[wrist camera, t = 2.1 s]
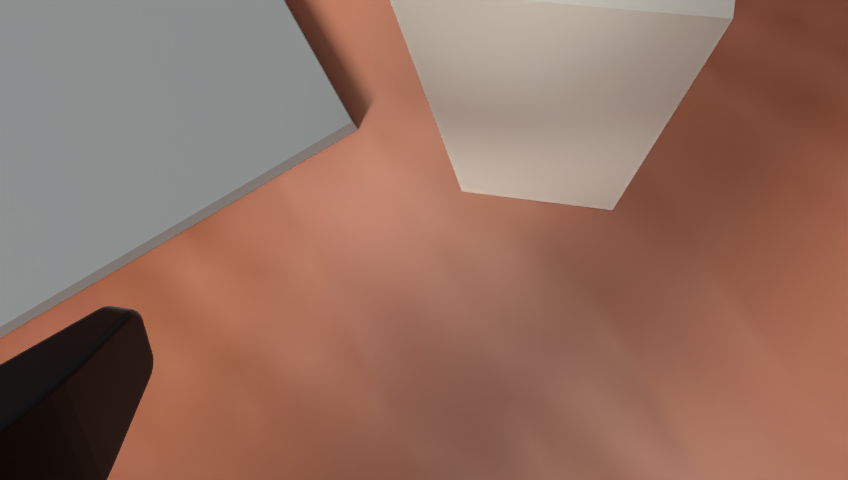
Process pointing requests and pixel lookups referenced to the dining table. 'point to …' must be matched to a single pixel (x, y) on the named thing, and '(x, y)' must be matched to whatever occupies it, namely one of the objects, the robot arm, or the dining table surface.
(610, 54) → the tall block
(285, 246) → the dining table surface
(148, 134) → the rubber mat
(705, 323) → the dining table surface
